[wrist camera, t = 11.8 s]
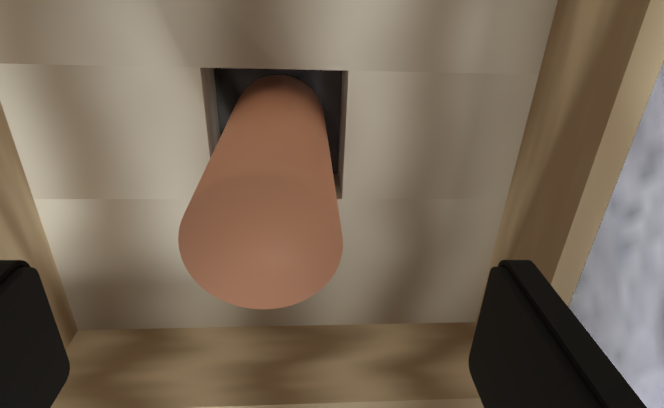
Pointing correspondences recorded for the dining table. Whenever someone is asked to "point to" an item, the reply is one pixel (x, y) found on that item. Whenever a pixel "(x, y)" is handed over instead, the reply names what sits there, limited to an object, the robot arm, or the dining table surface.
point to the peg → (266, 202)
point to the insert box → (350, 183)
